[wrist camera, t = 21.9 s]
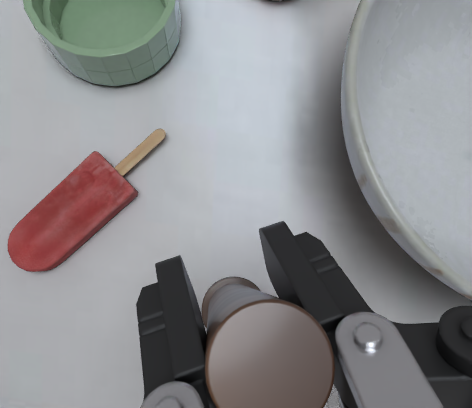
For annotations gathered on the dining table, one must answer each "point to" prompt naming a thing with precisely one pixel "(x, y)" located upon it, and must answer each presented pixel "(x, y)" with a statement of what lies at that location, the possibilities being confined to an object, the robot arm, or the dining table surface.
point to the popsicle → (75, 209)
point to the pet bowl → (108, 36)
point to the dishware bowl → (414, 127)
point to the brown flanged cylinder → (263, 350)
